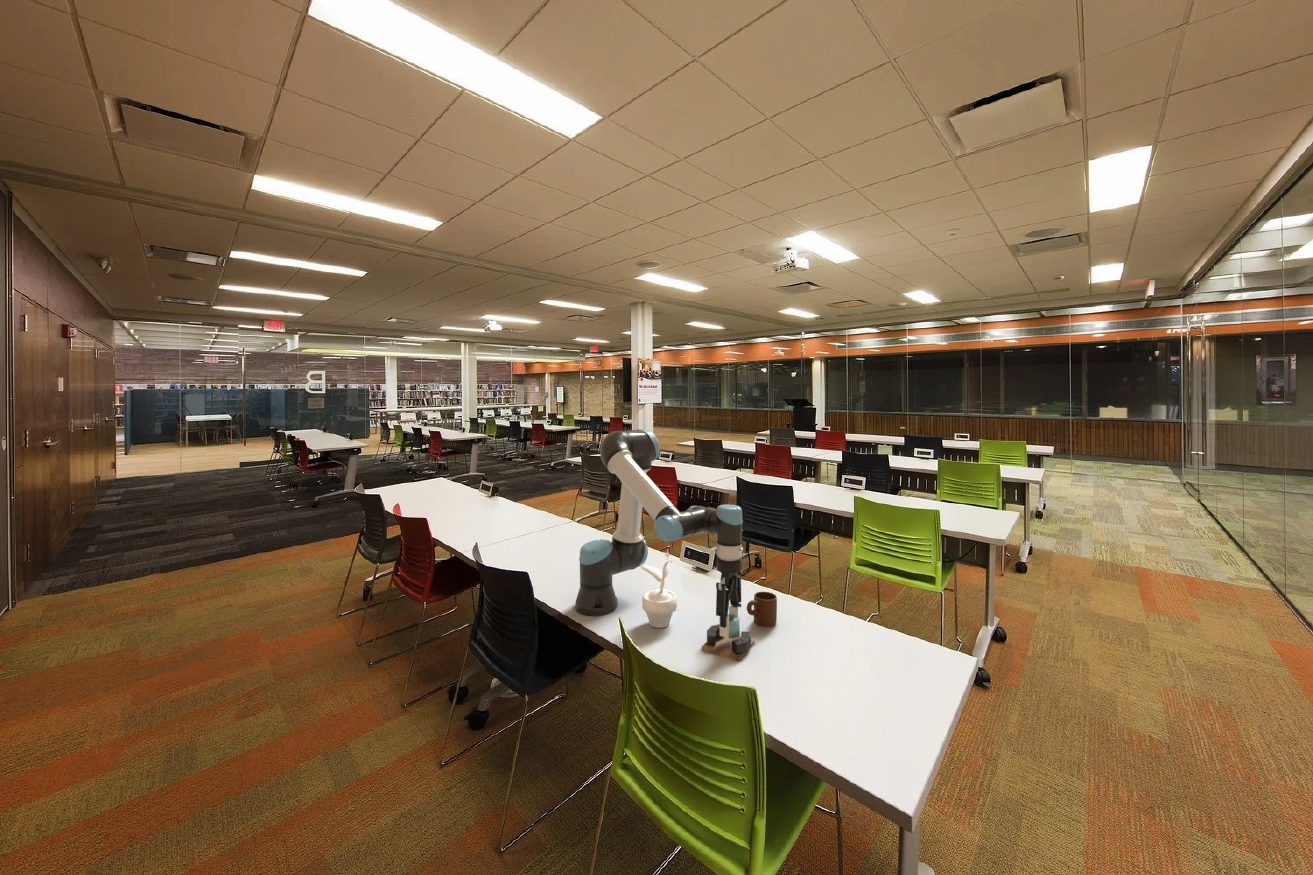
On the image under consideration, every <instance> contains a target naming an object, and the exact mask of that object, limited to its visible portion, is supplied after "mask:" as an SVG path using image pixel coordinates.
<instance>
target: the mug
mask: <svg viewBox="0 0 1313 875" xmlns="http://www.w3.org/2000/svg"><path fill="white" fill-rule="evenodd" d="M752 608H753V609H752ZM746 611H747V613H748V614H749V615H750V616H753V622H754V624H755V625H756V626H758V627H762V628H773V627H775V626H776V625H777V621H778V620H777V618H778V617H777V616H778V597H777V595H776V594H774V593H772V592H769V591H758V592H755V593H754V595H753V599H752V600H749V602H748V603H747V604H746Z"/></svg>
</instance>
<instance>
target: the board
mask: <svg viewBox="0 0 1313 875" xmlns="http://www.w3.org/2000/svg"><path fill="white" fill-rule="evenodd" d="M740 638H741V635H739V636H738V637H736V638H725V637H721V638H718V639H717V640H716V646H707V641H706V642H705V643H704V644H703V645H701V650H702V651H705V652H708V653H711V654H715V655H718V656H721V657H724V658H727V659H730V660H734V661H737V662H740V661H742V660H741V659H743V657H745V655H746V654H747V653H748V652H749V650H750V649H751V648H752V647H753V646H754V645H755V642H756V641H755V639H751V647H750V648H749V650H748V651H747V652H745V653H741V654H738V655H737V654H735V653H734V652H733V651H732V641H733V640H737V639H740Z"/></svg>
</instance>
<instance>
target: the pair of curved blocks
mask: <svg viewBox="0 0 1313 875" xmlns="http://www.w3.org/2000/svg"><path fill="white" fill-rule="evenodd" d="M740 636H741V638H740V639H737V640H733V641H732V651H733V652H734V653H735V654H737V655H738V654H741V653H745V652H747V651H748V652H749V651H750V649H751V648H752V647H751V640H752V636H751V632H750V631H744V630H743V631H741V632H740ZM721 637H722V636H720V623H719V624H715V625H714V624H713V625H711V626H710V627H709V628H708V629H707V630H706V642H707V646H716V640H717V639H718V638H721ZM750 647H751V648H750ZM749 648H750V649H749ZM748 652H747V653H748Z"/></svg>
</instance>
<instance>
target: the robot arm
mask: <svg viewBox="0 0 1313 875" xmlns="http://www.w3.org/2000/svg"><path fill="white" fill-rule="evenodd" d="M659 442H660V441H659V440H658V438H657V437H656V435H655V433H653V432H652V431H651V430H649V429H629V430H615V431H612V432H610V433H608V434H607V435H606V436H605V437H604V438H603V439H602V442H601V444H600V447H599V453H600V454H599V455H600V459H601V461H602V464H603V466H604V467H605V468H606V469H607V470H608V471H609V473H611V474H614V475H616V476H617V478H618V479H619V480H620V482H621V489H620V499H619V510H618V518H617V528H616V530H615V531H614V532H613V533H612V538H611V541H610V540H608V539H593V540H590V541H588V542H586V543H584V544H583V545H582V546H581V548H580V550H579V558H578V561H579V589H578V592H577V596H576V599H575V601H574V602H575V603H574V604H575V608H574V609H575V611H576V612H578V613H579V614H582V615H584V616H602V615H603V616H604V615H608V614H611V613H612V612H614V611H615V610H616V609H617V608H618V598H617V596H616V593H615V590H614V586H613V576H614V575H617V574H620V573H624V572H627V571H631V570H635V569H637V568H639V567H641V566H640V565H645V563H646V560H647V558H648V553H649V549H648V548H649V547H648V546H647V542H646V540H645V538H644V535H643V534H642V533H641V523H642V515H643V509H644V510H645V511H646V513H648V515H649V516H650V517H651V519H653V521H654V525H653V526H654V532H655V533H656V537H657V538H658V539H659V540H660V541H662V542H667V543H668V542H672V541H678V540H680V539H684V538H687V537H691V536H695V535H698V534H703V533H705V534H706V533H707V534H709V535H715V536H716V556H717V557H716V570H717V571H718V572H720V573H721V574H720V582H718V581H717V582H716V583H715V587H716V600H715V601H716V602H715V616H717V617H719V618H720V622H719V624H720V636H722V637H726V638H729V616H728V614H731V615H735V616H737V617H739V608H741V607H742V574H743V572H742V570H743V559H742V556H743V552H744V548H743V540H742V539H743V523H744V520H743V510H742V507H740V506H739V505H737V504H720V505H718V506H717V508H716V509H715V508H714V509H713V508H711V507H706V506H703V505H691V506H690V507H688V508H687V509H686V510H685V511H680V510H679V509H678V508H677V507H676V506H675V505H674V504H673V503H672V502H671V501H670V499H669V498H668V497H667V496H666V495H665V494H664V493H663V491H661V489H660V488H659V486H657V485H656V484H655V483H654V481H653V480H652V479H651V478H650V476H648V475H647V473H648V471H650V470H651V468H652V462H654V461H656V459H658V457H659V455H660V452H661V448H660V443H659Z"/></svg>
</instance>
